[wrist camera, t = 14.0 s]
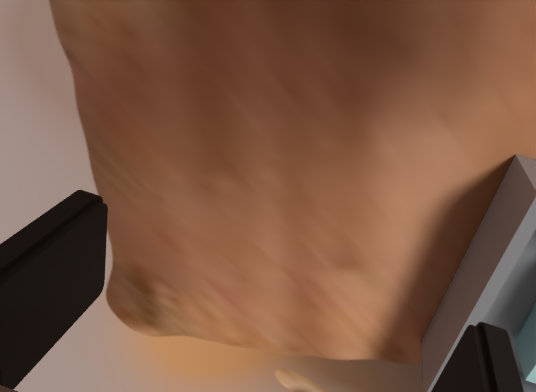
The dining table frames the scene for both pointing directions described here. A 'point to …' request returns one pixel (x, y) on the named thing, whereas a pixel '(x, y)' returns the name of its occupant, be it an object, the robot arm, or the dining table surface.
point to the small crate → (527, 345)
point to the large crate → (490, 274)
